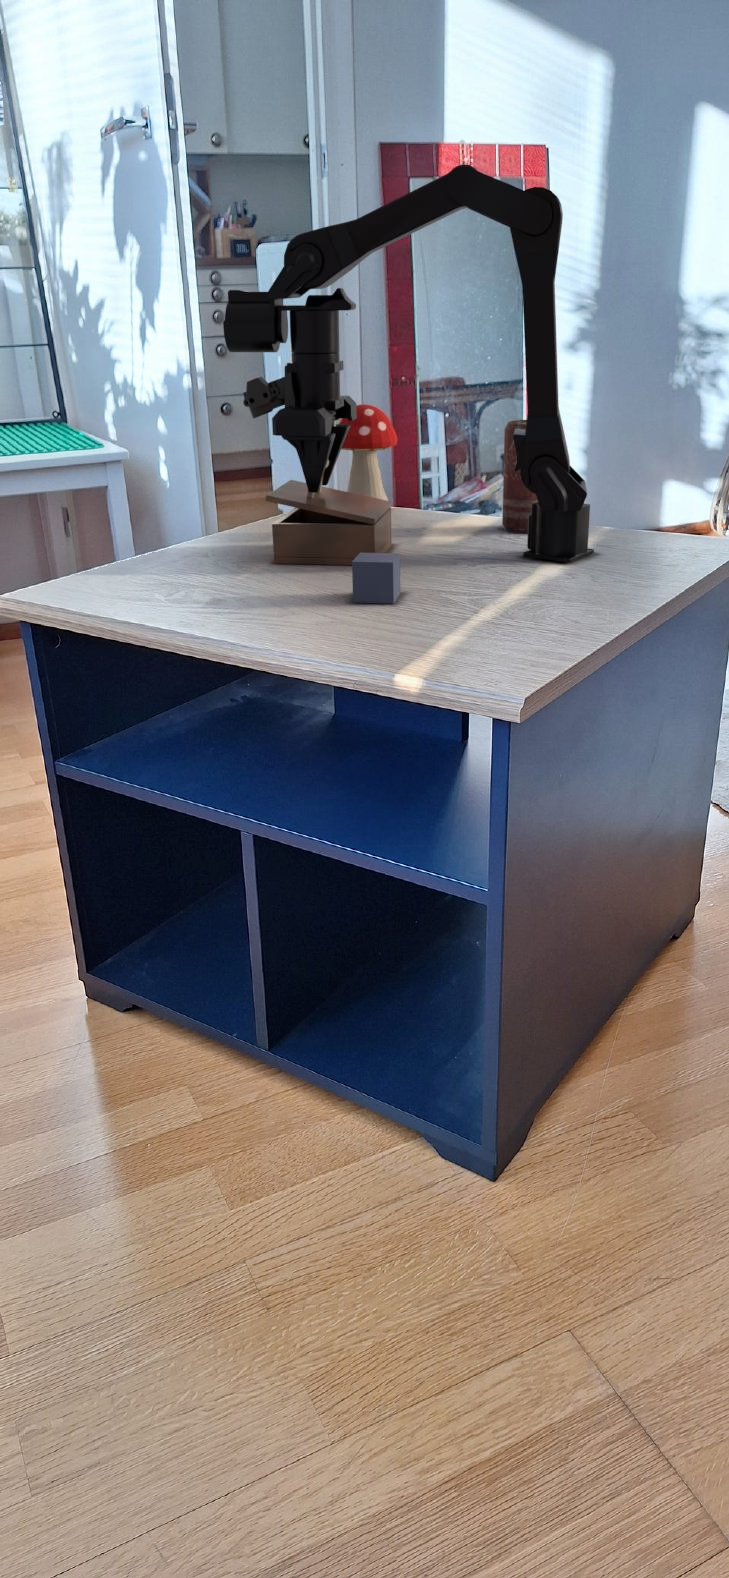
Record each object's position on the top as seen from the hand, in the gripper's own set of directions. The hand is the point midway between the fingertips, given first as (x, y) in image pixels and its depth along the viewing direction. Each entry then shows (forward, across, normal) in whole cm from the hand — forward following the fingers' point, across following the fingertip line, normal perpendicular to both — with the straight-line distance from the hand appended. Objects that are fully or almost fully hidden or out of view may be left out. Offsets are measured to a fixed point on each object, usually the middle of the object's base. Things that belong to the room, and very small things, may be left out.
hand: (318, 488), depth 137 cm
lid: (+2, 0, +1) cm, 2 cm away
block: (+8, +21, +11) cm, 25 cm away
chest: (+8, 0, +2) cm, 8 cm away
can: (+8, -17, +25) cm, 31 cm away
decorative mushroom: (+8, -30, 0) cm, 32 cm away
